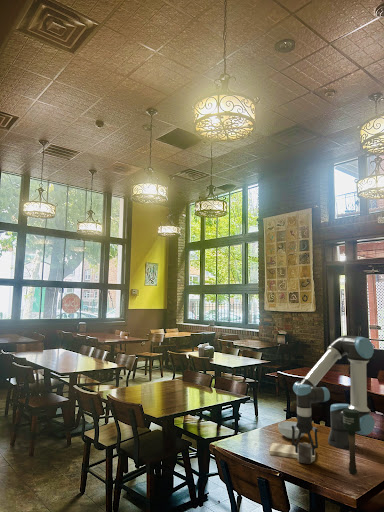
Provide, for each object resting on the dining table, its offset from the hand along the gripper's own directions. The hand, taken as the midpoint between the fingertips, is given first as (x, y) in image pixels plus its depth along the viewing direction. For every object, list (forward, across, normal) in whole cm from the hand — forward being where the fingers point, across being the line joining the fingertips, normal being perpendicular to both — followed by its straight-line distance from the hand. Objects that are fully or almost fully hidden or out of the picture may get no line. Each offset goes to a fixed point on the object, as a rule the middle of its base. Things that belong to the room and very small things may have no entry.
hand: (305, 460), depth 201 cm
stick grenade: (+1, -23, +6) cm, 24 cm away
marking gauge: (0, 0, -6) cm, 6 cm away
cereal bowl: (+1, +9, -38) cm, 39 cm away
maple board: (+1, +7, -10) cm, 12 cm away
